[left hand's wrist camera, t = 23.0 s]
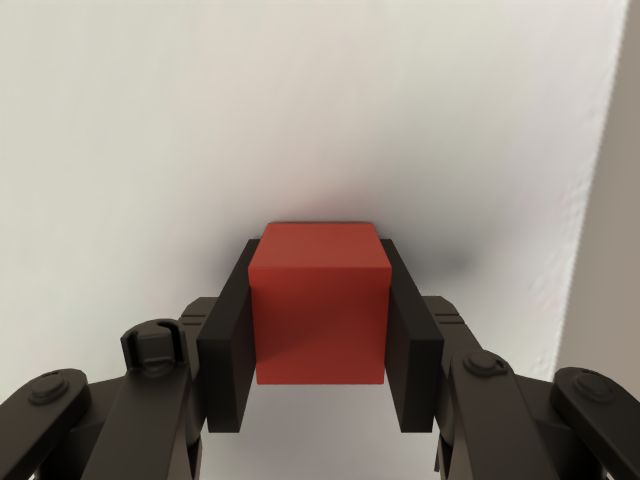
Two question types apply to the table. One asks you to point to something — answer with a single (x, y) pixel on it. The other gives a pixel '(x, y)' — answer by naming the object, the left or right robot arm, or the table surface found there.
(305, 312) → the red cube
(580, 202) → the table surface
